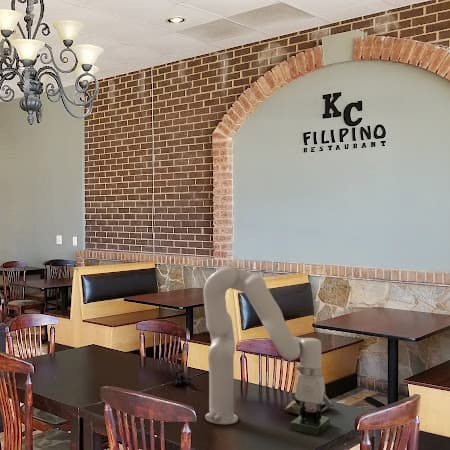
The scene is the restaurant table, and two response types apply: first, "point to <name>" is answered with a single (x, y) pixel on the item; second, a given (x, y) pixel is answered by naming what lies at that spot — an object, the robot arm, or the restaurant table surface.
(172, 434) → the restaurant table surface
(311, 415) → the dial
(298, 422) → the panel
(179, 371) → the toy
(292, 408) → the stone
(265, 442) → the restaurant table surface
